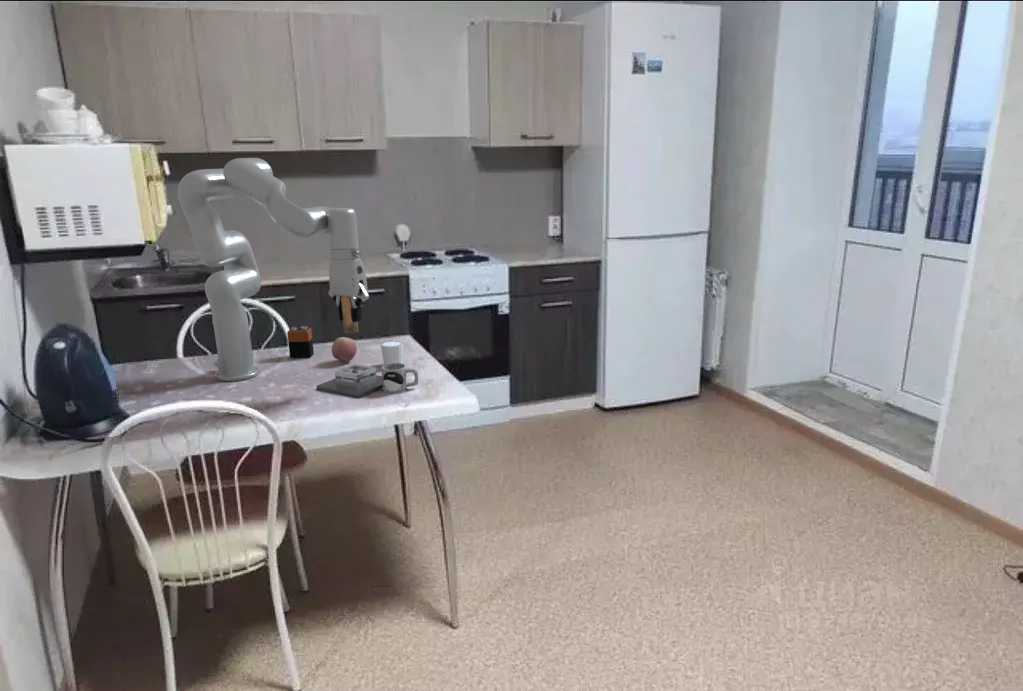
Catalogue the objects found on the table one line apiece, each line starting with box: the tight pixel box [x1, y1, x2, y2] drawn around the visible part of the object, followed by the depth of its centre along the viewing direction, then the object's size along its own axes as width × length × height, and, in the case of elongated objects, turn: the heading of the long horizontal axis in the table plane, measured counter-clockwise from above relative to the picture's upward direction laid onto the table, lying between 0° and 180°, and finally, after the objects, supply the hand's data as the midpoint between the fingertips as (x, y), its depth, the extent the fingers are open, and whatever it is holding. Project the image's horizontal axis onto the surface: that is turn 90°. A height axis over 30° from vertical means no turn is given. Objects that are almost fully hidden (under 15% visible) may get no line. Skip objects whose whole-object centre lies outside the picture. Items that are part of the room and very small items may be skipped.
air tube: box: [341, 295, 360, 334], centre depth 195 cm, size 4×4×11 cm
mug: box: [381, 363, 419, 394], centre depth 197 cm, size 10×7×7 cm
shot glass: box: [380, 340, 404, 365], centre depth 219 cm, size 7×7×7 cm
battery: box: [286, 325, 315, 359], centre depth 229 cm, size 4×7×10 cm, turn 89°
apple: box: [331, 336, 358, 362], centre depth 223 cm, size 8×8×8 cm
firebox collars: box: [316, 363, 383, 399], centre depth 201 cm, size 16×15×5 cm
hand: (350, 319), depth 196 cm, fingers closed on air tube, 4 cm apart
